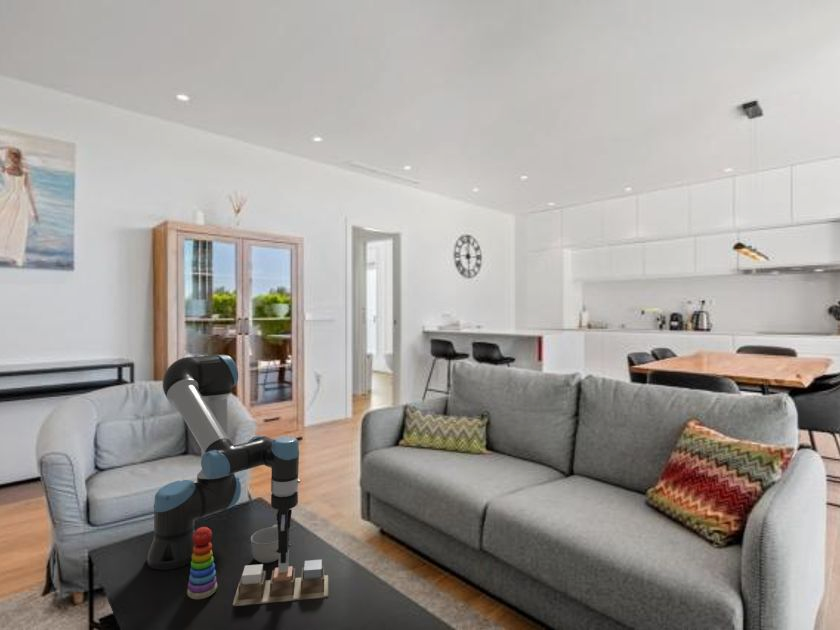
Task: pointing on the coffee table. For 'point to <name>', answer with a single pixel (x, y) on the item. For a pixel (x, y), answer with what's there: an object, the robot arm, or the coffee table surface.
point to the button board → (281, 590)
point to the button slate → (313, 569)
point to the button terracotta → (283, 575)
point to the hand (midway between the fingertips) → (283, 571)
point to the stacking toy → (202, 566)
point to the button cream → (252, 574)
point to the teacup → (265, 544)
